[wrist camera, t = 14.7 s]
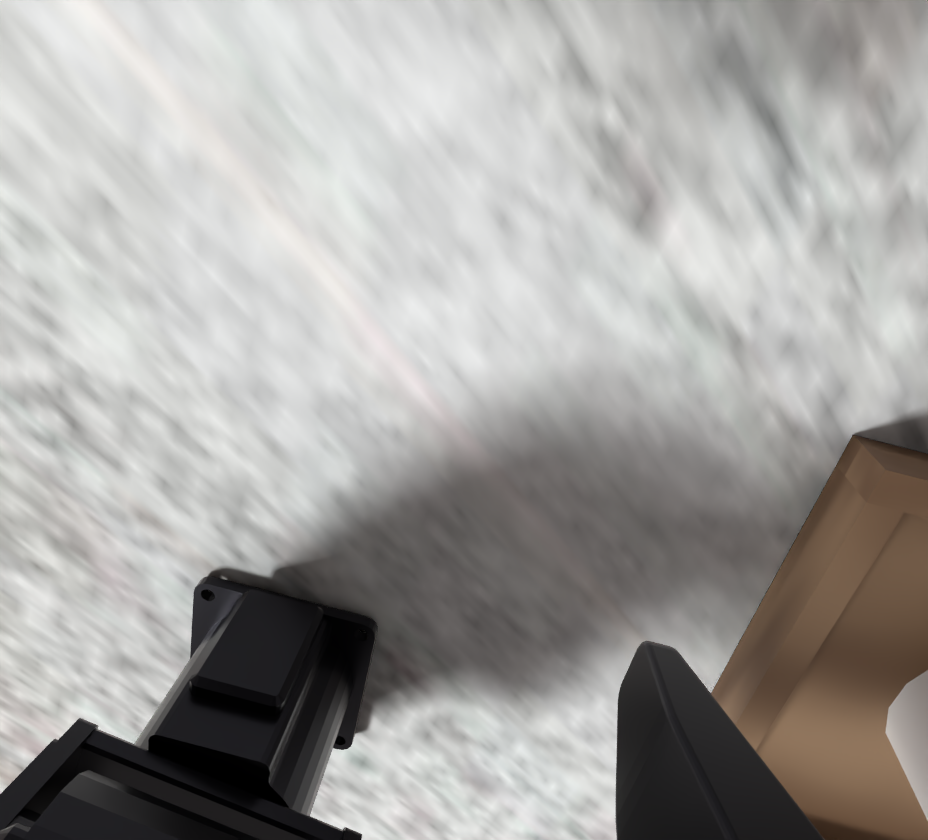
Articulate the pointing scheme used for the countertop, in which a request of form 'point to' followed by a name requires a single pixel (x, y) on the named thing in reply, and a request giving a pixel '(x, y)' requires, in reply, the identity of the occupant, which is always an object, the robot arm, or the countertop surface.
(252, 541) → the countertop surface
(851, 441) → the walnut tray
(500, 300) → the countertop surface
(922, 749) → the white cylinder
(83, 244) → the countertop surface
